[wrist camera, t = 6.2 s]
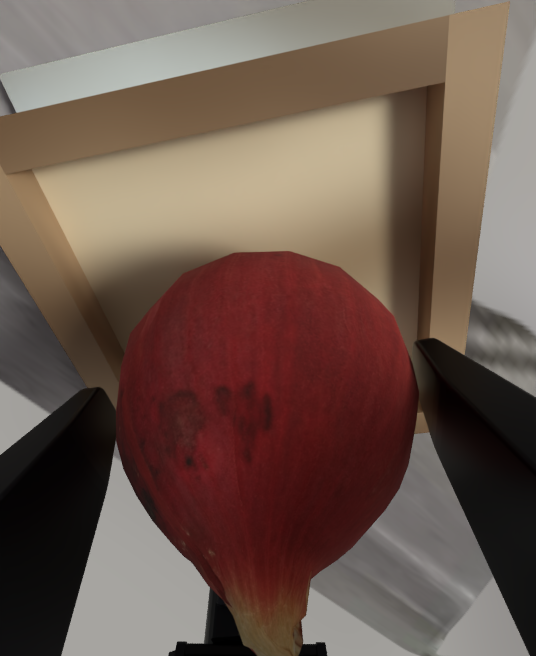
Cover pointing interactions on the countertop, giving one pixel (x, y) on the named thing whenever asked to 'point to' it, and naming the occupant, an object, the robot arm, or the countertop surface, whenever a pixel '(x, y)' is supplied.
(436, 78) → the tan square tray
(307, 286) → the onion
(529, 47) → the countertop surface
